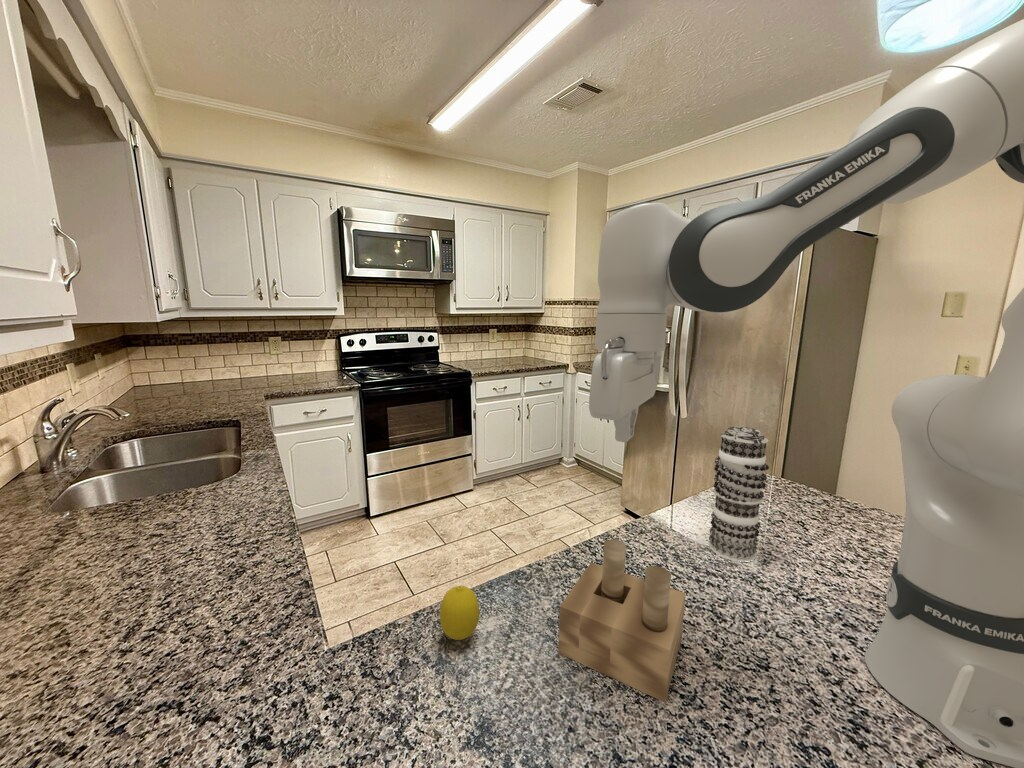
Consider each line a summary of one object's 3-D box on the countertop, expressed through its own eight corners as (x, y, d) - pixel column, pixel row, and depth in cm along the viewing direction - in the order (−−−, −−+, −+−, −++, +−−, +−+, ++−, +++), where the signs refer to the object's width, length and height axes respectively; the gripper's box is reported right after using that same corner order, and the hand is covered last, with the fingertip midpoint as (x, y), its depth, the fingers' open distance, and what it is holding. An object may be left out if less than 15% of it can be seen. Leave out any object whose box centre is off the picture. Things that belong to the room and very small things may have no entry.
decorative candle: (758, 546, 84) (771, 427, 80) (759, 569, 76) (774, 438, 72) (708, 534, 88) (719, 421, 84) (704, 555, 80) (716, 431, 76)
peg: (624, 619, 59) (629, 543, 58) (618, 633, 57) (623, 553, 55) (603, 611, 61) (607, 536, 59) (596, 624, 58) (600, 546, 56)
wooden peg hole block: (681, 637, 59) (689, 547, 57) (665, 702, 49) (674, 595, 47) (589, 602, 66) (593, 521, 64) (558, 652, 56) (561, 558, 54)
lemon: (472, 657, 55) (472, 603, 54) (433, 650, 56) (433, 596, 55) (483, 627, 60) (484, 577, 59) (448, 621, 61) (447, 572, 60)
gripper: (633, 339, 43) (627, 466, 45) (669, 335, 60) (663, 426, 62) (577, 338, 46) (573, 456, 48) (626, 334, 64) (622, 421, 66)
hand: (624, 439), depth 55 cm, fingers closed
